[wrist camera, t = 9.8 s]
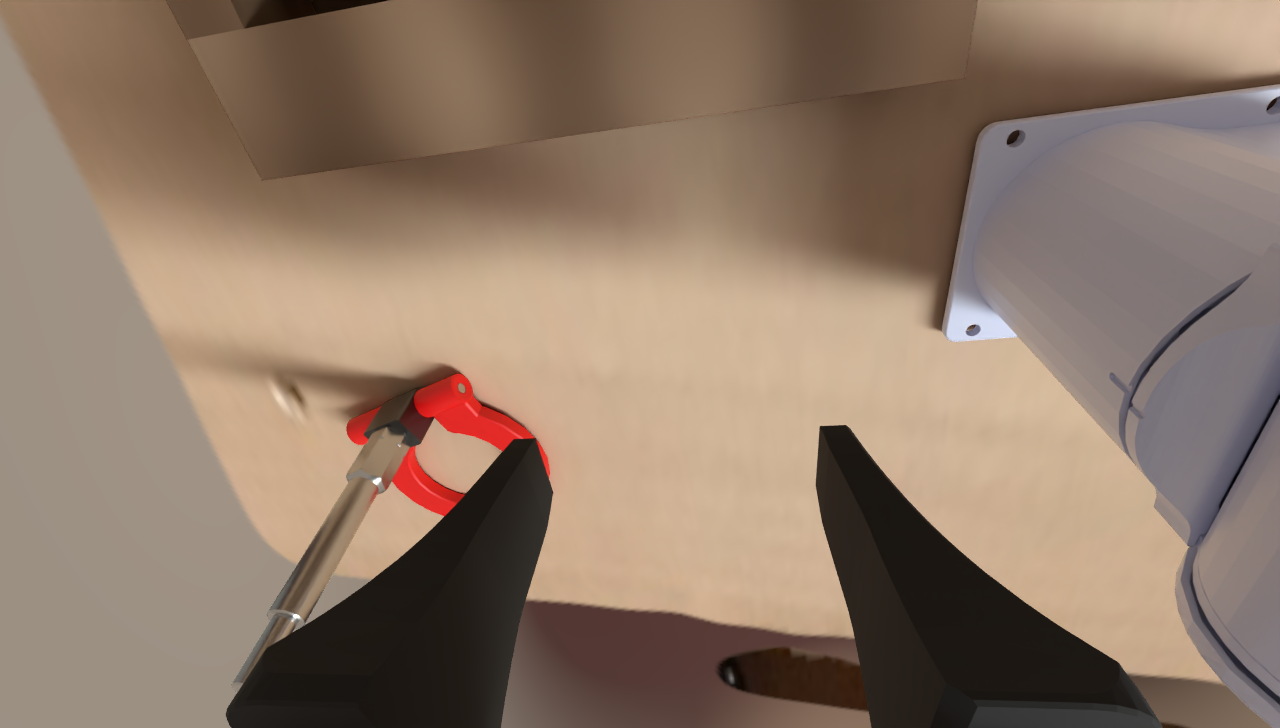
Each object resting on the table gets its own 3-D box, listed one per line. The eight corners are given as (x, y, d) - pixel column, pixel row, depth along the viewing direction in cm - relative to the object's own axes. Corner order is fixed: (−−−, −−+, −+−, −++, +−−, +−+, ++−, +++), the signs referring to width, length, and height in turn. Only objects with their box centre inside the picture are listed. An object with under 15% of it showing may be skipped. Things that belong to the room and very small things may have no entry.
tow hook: (581, 483, 29) (473, 357, 24) (526, 773, 19) (322, 654, 14) (460, 521, 32) (341, 414, 27) (355, 792, 22) (135, 698, 17)
